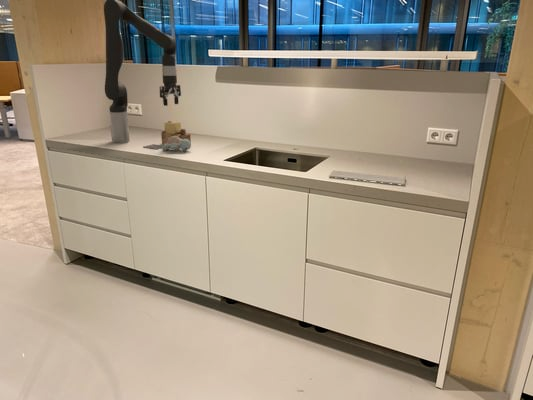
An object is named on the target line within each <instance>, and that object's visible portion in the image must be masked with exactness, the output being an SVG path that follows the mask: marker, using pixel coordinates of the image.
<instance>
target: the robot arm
mask: <svg viewBox="0 0 533 400" xmlns="http://www.w3.org/2000/svg"><path fill="white" fill-rule="evenodd" d="M103 14H104V15H103V17H104V25H105V79H104V80H105V82H104V94H105V97H107V99H108V100H110V101H112V104H111V105H110V106H109V115H110V125H109V127H110V134H111V142H113V143H118V144H120V143H121V144H122V143H123V144H124V143H128V142H130V130H129V121H128V119H129V118H128V105H129V104H128V89H127V87H126V85H125V84H124V83H122V82H119V74H120V70H121V67H122V65H123V62H124V58H125V49H124V48H125V46H124V42H123V38H122V35H121V31H120V20H121V21H123V22H125V23H127V24H129V25H131V26H132V27H133V28H135V30H137V31H138V32H139V33H140V34H142V35H143V36H145V38H147V39H149V40H151V41H153V43H155V44H157V45H158V46H159V47H160V48H162V49H163V54H162V56H161V64H162V66H161V69H162V70H161V72H162V83H163V85H160V86H159V98H161V99H162V102H163V103H162V104H163V106H166V107H167V106H168V97H169V95H171V94H172V95H173V96H174V97H173V99H174V102H173V103H174V104H175V105H179V97H181V96H182V92H181V91H182V90H181V85H180V84H178V80H177V77H178V76H177V69H176V68H177V67H176V54H177V52H176V51H177V41H176V39H175V37H173V36H171V35H168V34H166V33H164V32H163V31H161V30H160V29H159V28H158V27H157V26H155V24H152V23H151V22H149V21H147V20H146V19H144V18H142V17H141V16H140V15H138V14H136V13H135V12H134V11H133V10H131V9H130V8H129V7H128V6H127V5H126V4H124V2H123V1H121V0H105V2H104V3H103Z"/></svg>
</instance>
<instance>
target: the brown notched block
mask: <svg viewBox="0 0 533 400" xmlns="http://www.w3.org/2000/svg"><path fill="white" fill-rule="evenodd" d="M180 131H181V132H178V133H174V134H168V133H165V130H163V131H161V144H162V145H165V144H166V142H167V139H168V138H170V137H172V136H177V137H179V138H181V139H188V140H189V141H190V143H191V144H192V141H191V139H192V138H191V133H187V132H186V128H181V129H180Z"/></svg>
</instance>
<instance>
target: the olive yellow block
mask: <svg viewBox="0 0 533 400" xmlns="http://www.w3.org/2000/svg"><path fill="white" fill-rule="evenodd" d="M180 129H182V124H181V122H177V121H176V122H175V121H172V120H168V121H165V122H164V131H165V133H168V134H174V133H178V132H181V131H180Z"/></svg>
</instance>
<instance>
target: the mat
mask: <svg viewBox="0 0 533 400" xmlns="http://www.w3.org/2000/svg"><path fill="white" fill-rule="evenodd" d="M162 146H163V144H162V145H161V144H155V143H154V144H149V145H144V146H143V148H144V149H152V150H160V149H162Z"/></svg>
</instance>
